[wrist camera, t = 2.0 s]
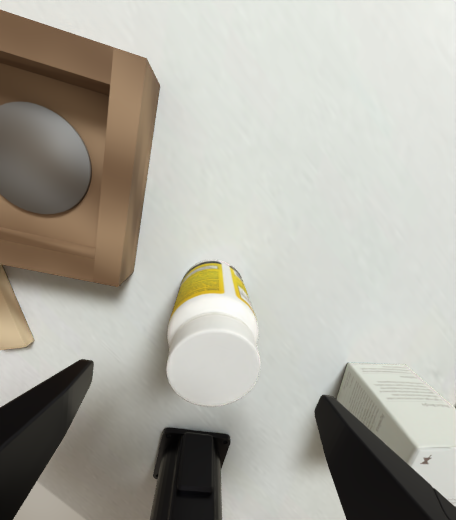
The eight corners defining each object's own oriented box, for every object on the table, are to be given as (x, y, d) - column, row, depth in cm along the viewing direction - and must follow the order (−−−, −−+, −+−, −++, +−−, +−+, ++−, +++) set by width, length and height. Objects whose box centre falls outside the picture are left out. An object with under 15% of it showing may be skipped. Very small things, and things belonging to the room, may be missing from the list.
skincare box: (330, 410, 22) (386, 513, 15) (347, 360, 20) (418, 449, 13) (387, 411, 23) (466, 511, 16) (407, 362, 21) (507, 449, 14)
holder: (133, 271, 16) (118, 287, 14) (-52, 233, 15) (-110, 243, 12) (160, 85, 13) (146, 58, 10) (-73, 11, 12) (-160, -44, 9)
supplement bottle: (172, 301, 17) (138, 396, 9) (196, 248, 16) (180, 303, 8) (228, 322, 18) (240, 425, 10) (253, 273, 17) (290, 344, 9)
